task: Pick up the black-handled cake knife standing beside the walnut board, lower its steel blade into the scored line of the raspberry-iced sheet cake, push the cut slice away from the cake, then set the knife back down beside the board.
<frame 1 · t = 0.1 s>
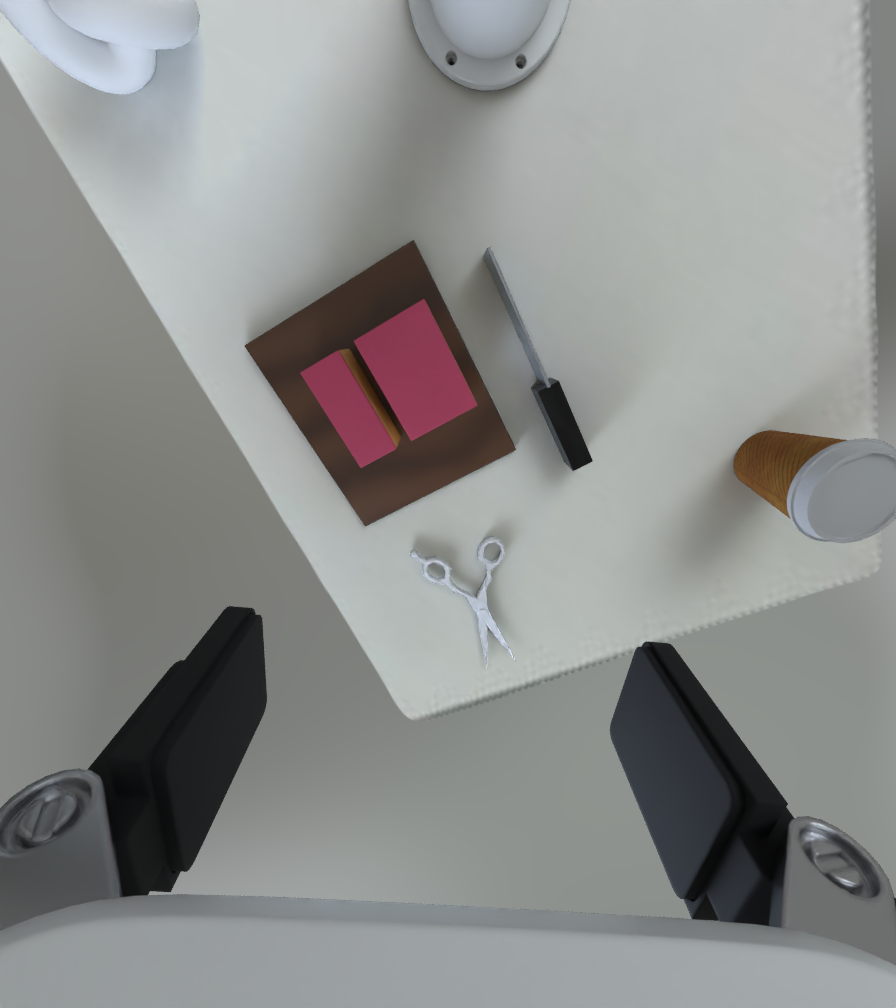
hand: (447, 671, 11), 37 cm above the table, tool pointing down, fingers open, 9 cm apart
cake slice: (359, 403, 44), point 1 cm above the table, touching cake board
cake: (420, 369, 43), point 1 cm above the table, touching cake board
disposable coffee cup: (761, 458, 48), on the table
knife: (557, 421, 46), on the table
white knot sculpture: (133, 8, 34), on the table
scissors: (478, 603, 54), on the table
cake board: (387, 399, 45), on the table
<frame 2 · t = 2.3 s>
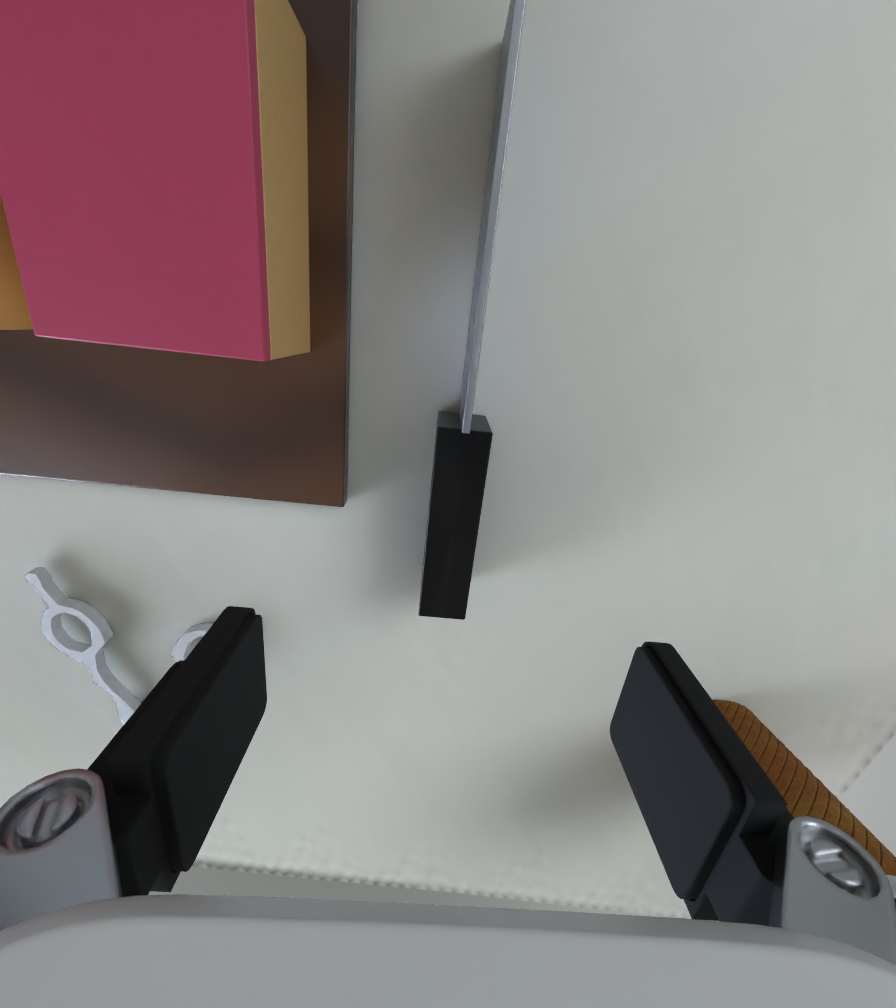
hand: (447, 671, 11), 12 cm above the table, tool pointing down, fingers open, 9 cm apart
cake slice: (16, 175, 16), point 1 cm above the table, touching cake board
cake: (214, 201, 16), point 1 cm above the table, touching cake board
disposable coffee cup: (705, 732, 28), on the table
knife: (451, 502, 22), on the table
scissors: (143, 715, 27), on the table
cake board: (110, 221, 17), on the table
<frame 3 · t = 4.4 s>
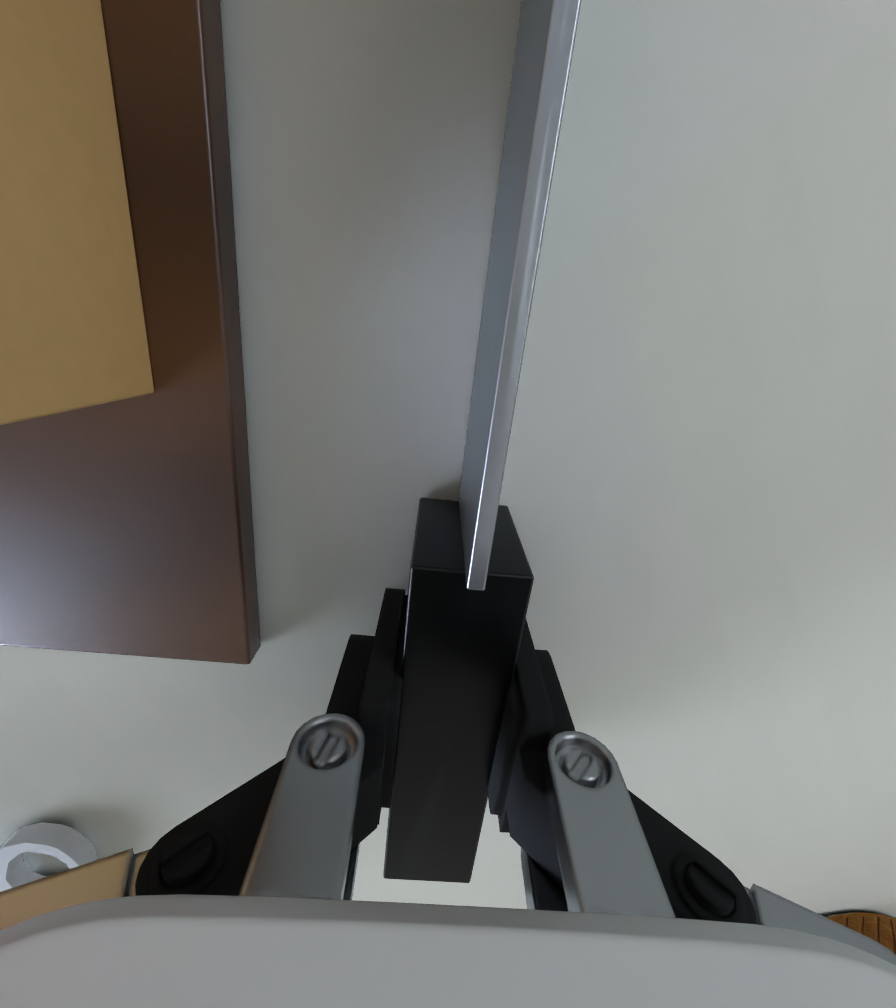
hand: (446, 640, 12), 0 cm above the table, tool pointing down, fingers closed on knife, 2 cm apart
disposable coffee cup: (828, 946, 19), on the table
knife: (445, 646, 12), on the table, touching gripper
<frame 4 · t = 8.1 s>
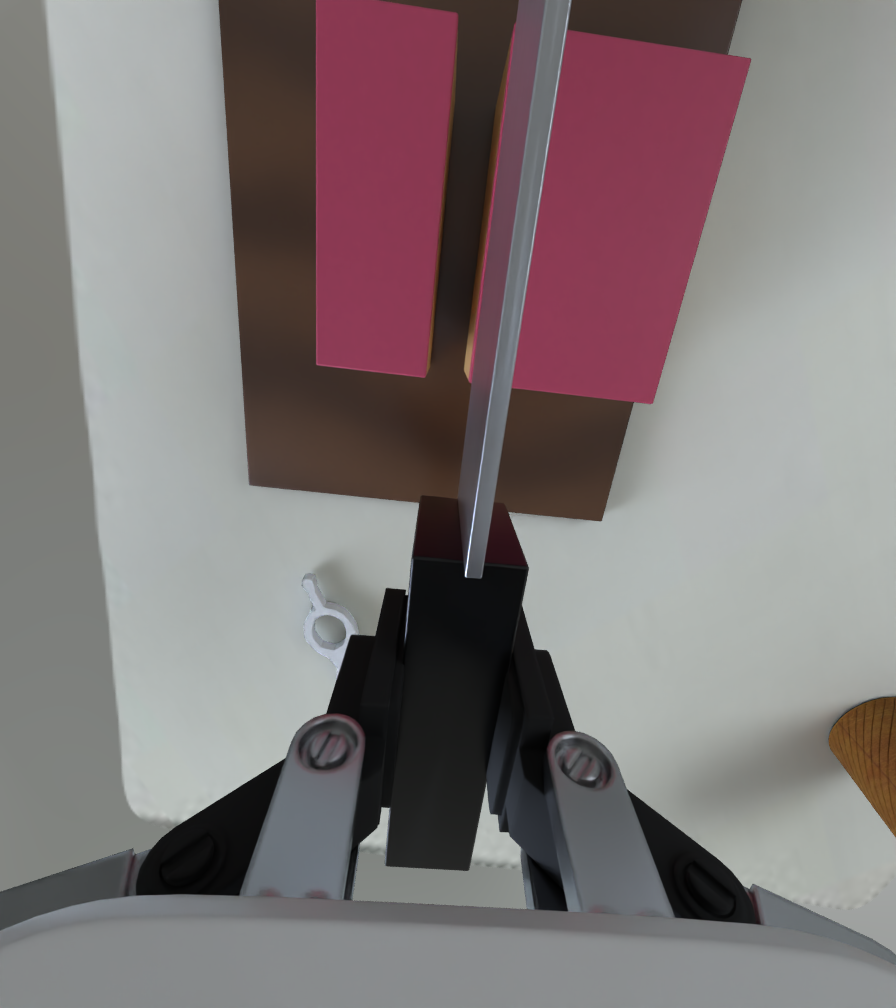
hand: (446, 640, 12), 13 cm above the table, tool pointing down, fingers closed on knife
cake slice: (395, 240, 19), point 1 cm above the table, touching cake board
cake: (557, 261, 19), point 1 cm above the table, touching cake board
disposable coffee cup: (871, 727, 31), on the table
knife: (444, 641, 13), point 12 cm above the table, touching gripper
scissors: (363, 709, 30), on the table
cake board: (452, 276, 20), on the table
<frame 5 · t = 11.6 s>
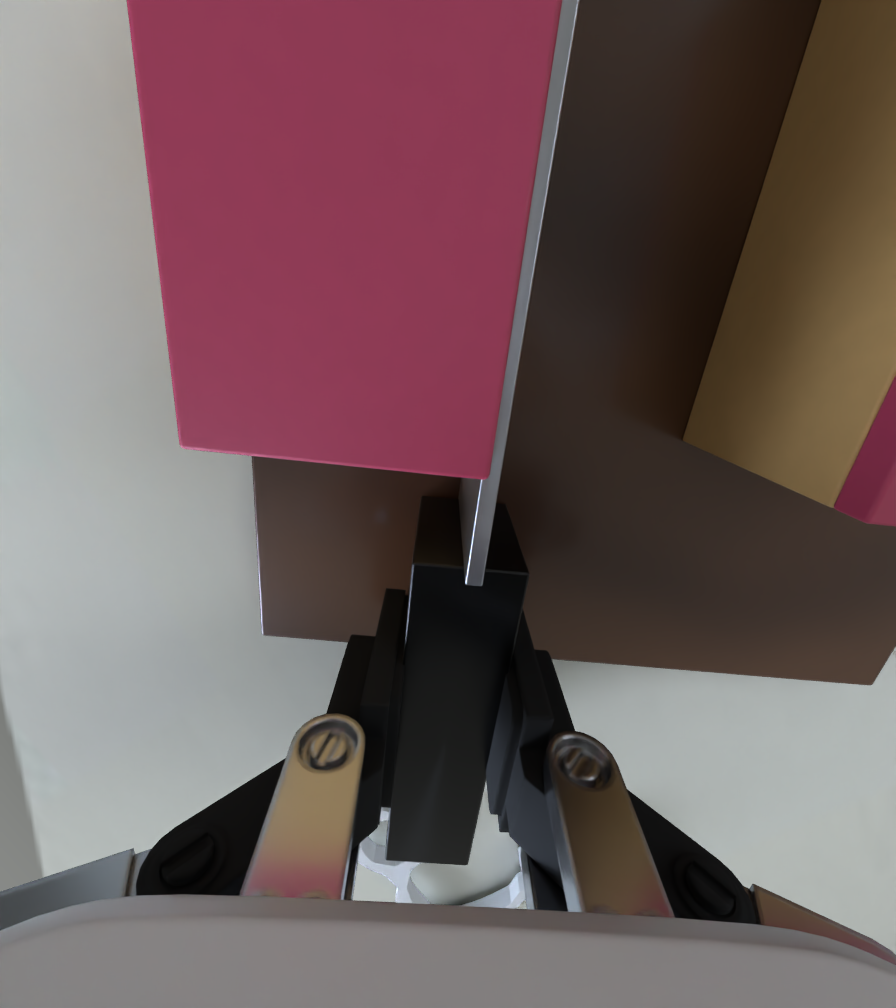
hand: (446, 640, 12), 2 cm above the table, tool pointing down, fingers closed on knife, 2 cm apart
cake slice: (399, 146, 8), point 1 cm above the table, touching knife
knife: (444, 639, 13), point 1 cm above the table, touching cake board, cake slice, gripper
scissors: (429, 922, 20), on the table
cake board: (674, 256, 10), on the table
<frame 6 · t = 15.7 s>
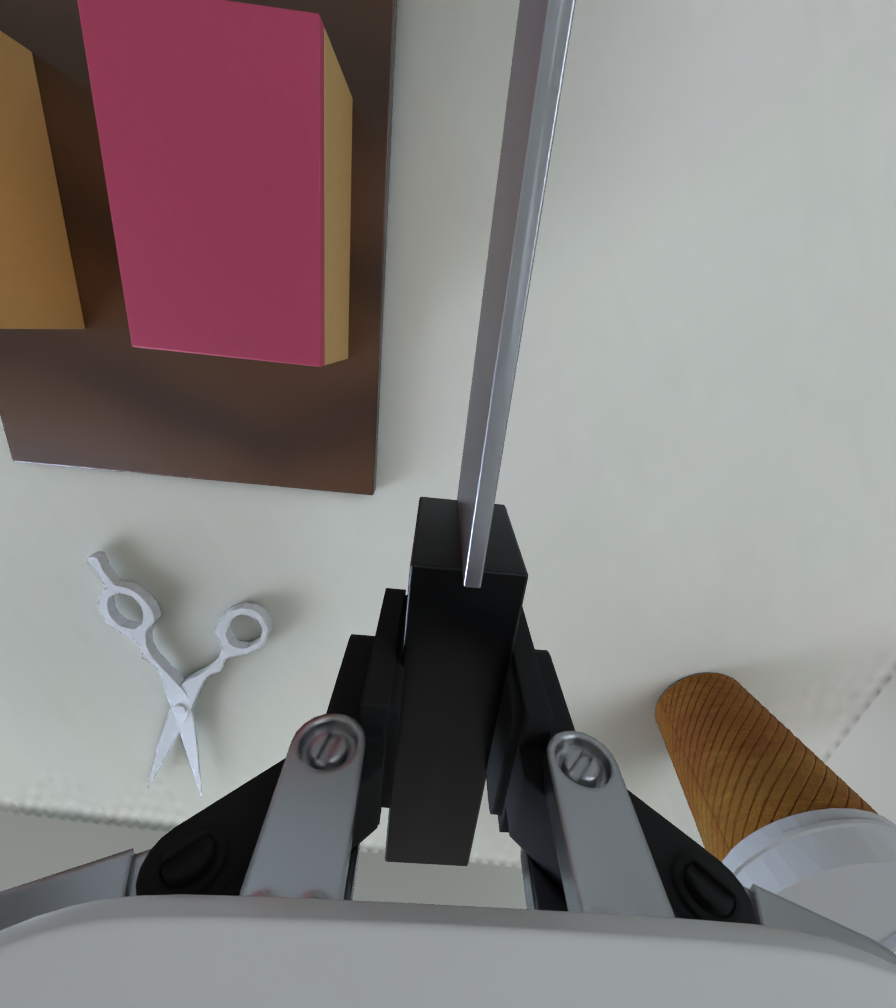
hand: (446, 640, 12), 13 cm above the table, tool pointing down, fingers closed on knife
cake slice: (13, 198, 18), point 1 cm above the table, touching cake board
cake: (270, 231, 19), point 1 cm above the table, touching cake board
disposable coffee cup: (697, 704, 31), on the table
knife: (444, 640, 13), point 13 cm above the table, touching gripper
scissors: (184, 690, 30), on the table
cake board: (178, 248, 20), on the table
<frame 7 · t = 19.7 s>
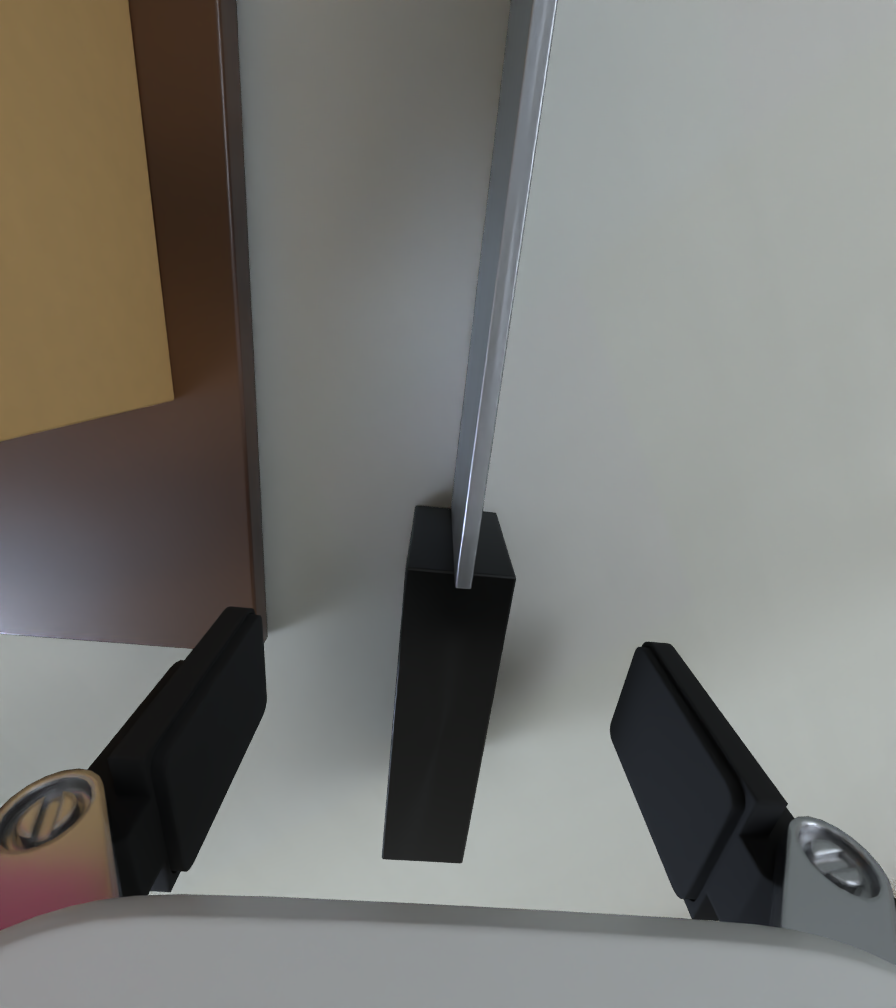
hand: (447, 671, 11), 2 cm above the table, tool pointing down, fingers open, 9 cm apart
knife: (439, 643, 13), on the table
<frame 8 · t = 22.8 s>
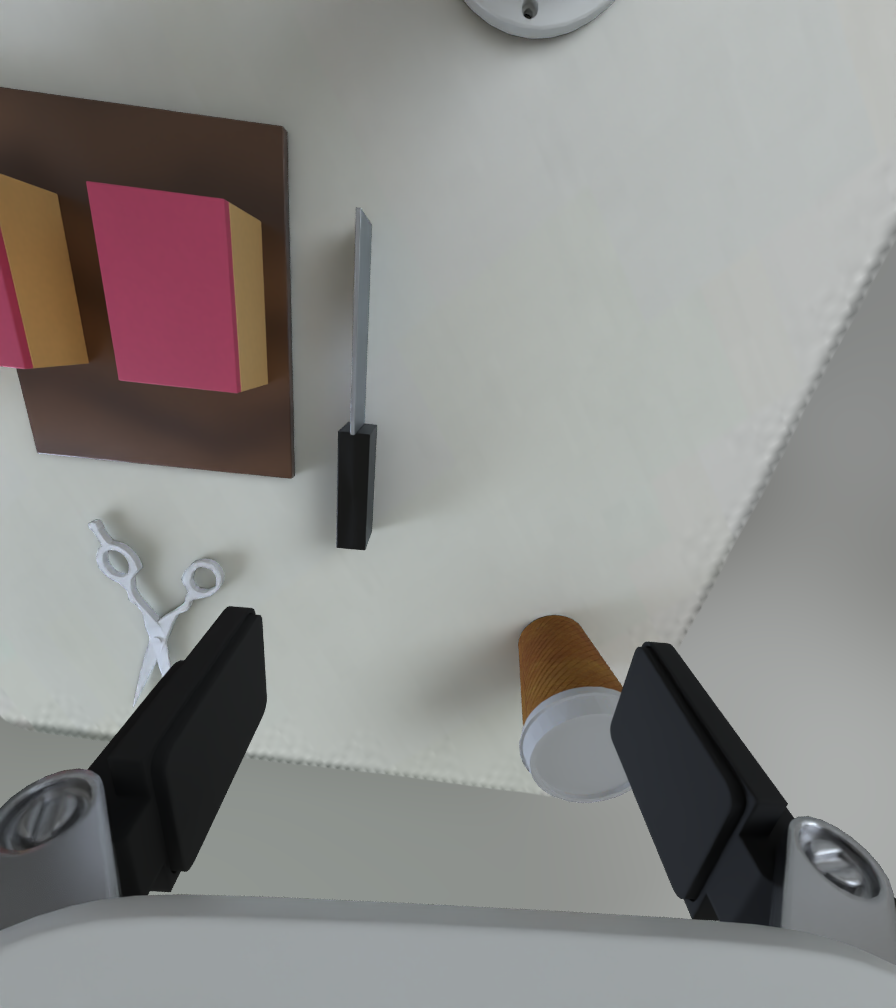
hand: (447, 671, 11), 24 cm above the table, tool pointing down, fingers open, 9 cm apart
cake slice: (43, 280, 28), point 1 cm above the table, touching cake board
cake: (211, 301, 29), point 1 cm above the table, touching cake board
disposable coffee cup: (551, 641, 41), on the table
knife: (360, 479, 34), on the table
scissors: (160, 627, 40), on the table
cake board: (152, 310, 30), on the table
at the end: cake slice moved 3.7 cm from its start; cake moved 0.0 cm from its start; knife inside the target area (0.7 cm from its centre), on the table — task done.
